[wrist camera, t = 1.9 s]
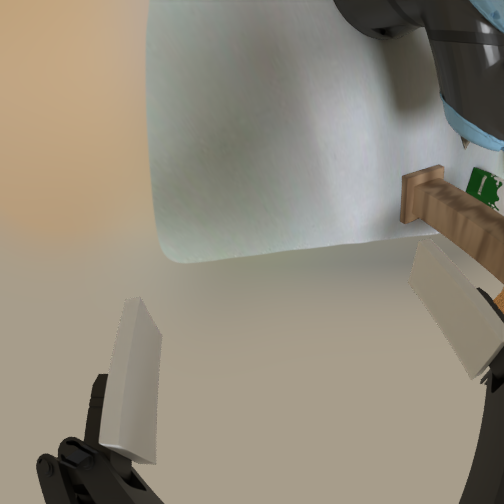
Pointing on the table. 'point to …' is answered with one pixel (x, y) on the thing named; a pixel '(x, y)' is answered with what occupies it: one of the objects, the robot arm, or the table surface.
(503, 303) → the wooden handle
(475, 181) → the milk carton
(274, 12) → the table surface
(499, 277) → the walnut stand
